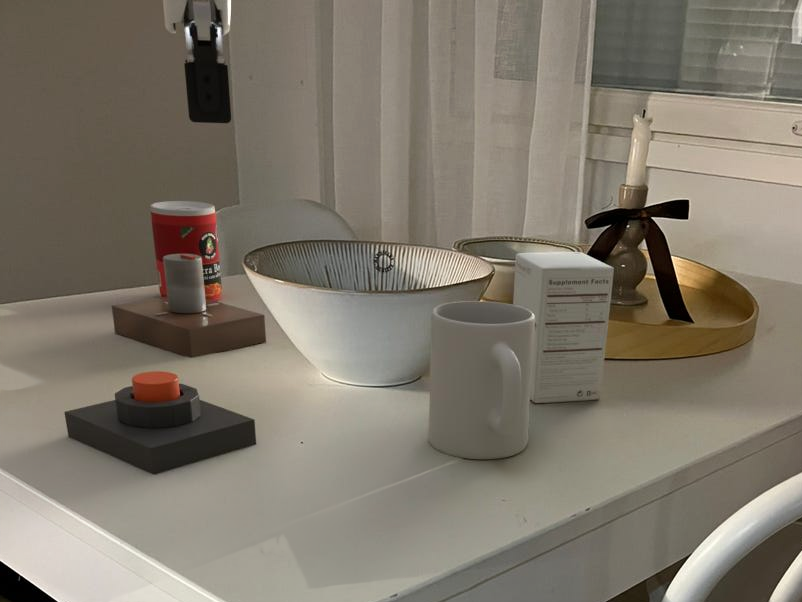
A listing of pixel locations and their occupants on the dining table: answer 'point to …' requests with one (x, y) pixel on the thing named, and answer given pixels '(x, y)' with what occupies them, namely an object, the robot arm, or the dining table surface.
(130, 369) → the dining table surface
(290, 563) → the dining table surface
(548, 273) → the white packaging box
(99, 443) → the button base
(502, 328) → the mug
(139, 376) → the button
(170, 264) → the dial
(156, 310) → the dial panel
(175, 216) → the canned food
